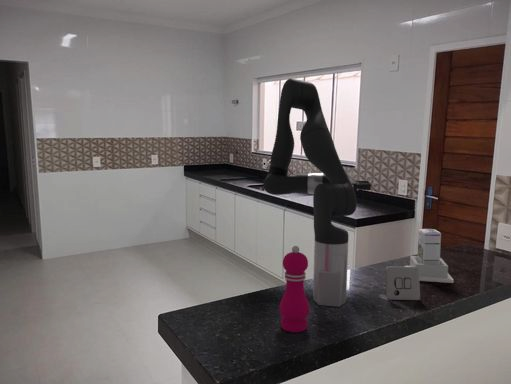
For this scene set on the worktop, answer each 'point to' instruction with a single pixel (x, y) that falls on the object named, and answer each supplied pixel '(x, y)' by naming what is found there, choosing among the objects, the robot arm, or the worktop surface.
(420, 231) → the syrup box
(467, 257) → the worktop surface
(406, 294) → the electrical switch
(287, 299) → the pepper mill
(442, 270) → the socket plate
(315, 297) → the robot arm
